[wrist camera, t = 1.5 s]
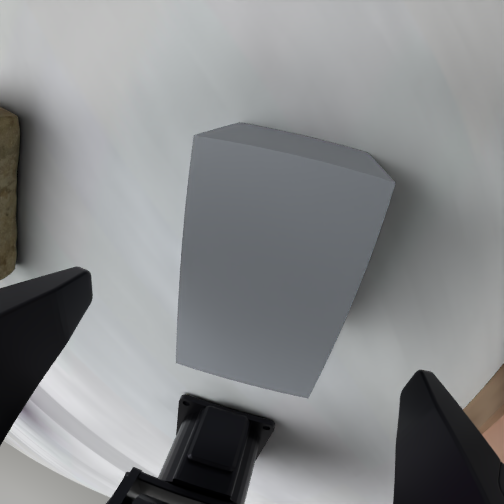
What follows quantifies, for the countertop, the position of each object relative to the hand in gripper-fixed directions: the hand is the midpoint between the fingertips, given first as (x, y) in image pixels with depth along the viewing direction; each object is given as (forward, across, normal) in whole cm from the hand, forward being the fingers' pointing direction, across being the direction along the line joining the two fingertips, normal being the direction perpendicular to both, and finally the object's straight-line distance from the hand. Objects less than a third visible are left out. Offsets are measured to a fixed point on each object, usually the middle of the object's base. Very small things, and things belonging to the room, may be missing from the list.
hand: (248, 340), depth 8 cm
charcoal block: (+7, 0, 0) cm, 7 cm away
